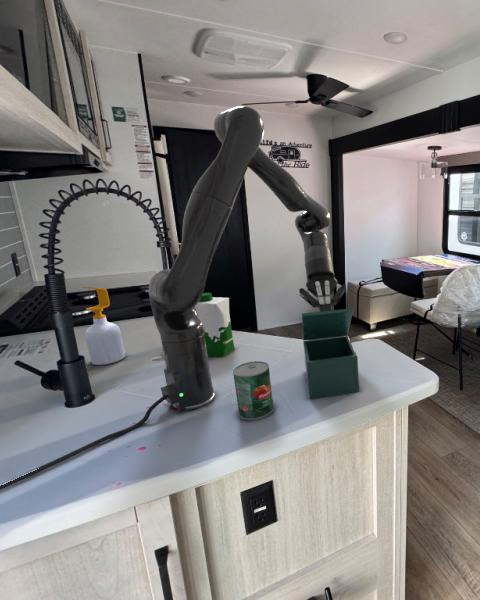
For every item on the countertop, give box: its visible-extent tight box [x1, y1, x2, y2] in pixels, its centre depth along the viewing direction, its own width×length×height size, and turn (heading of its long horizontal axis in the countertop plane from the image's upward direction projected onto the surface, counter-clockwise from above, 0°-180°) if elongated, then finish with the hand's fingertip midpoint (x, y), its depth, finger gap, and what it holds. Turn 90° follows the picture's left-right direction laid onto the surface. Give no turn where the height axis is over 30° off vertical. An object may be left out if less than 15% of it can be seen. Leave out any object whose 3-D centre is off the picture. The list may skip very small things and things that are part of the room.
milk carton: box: [195, 292, 235, 358], centre depth 125 cm, size 9×9×20 cm
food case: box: [302, 335, 360, 399], centre depth 103 cm, size 16×13×10 cm
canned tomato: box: [232, 360, 275, 421], centre depth 89 cm, size 8×8×11 cm
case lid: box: [301, 308, 354, 341], centre depth 102 cm, size 16×13×1 cm
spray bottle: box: [82, 286, 126, 366], centre depth 121 cm, size 9×9×25 cm
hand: (326, 318), depth 99 cm, fingers closed
